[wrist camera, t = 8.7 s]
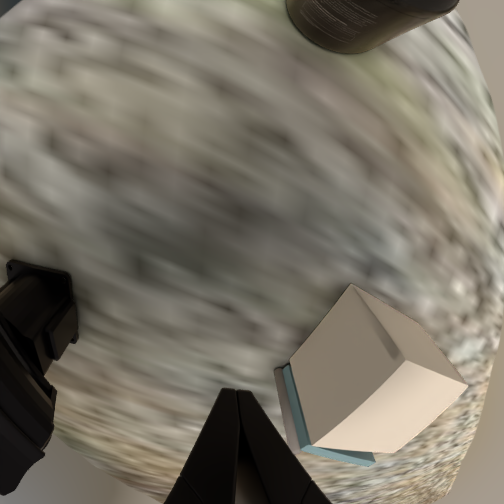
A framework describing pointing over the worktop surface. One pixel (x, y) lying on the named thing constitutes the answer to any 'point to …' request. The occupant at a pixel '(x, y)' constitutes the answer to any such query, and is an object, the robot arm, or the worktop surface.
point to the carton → (371, 377)
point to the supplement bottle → (362, 20)
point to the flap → (297, 425)
